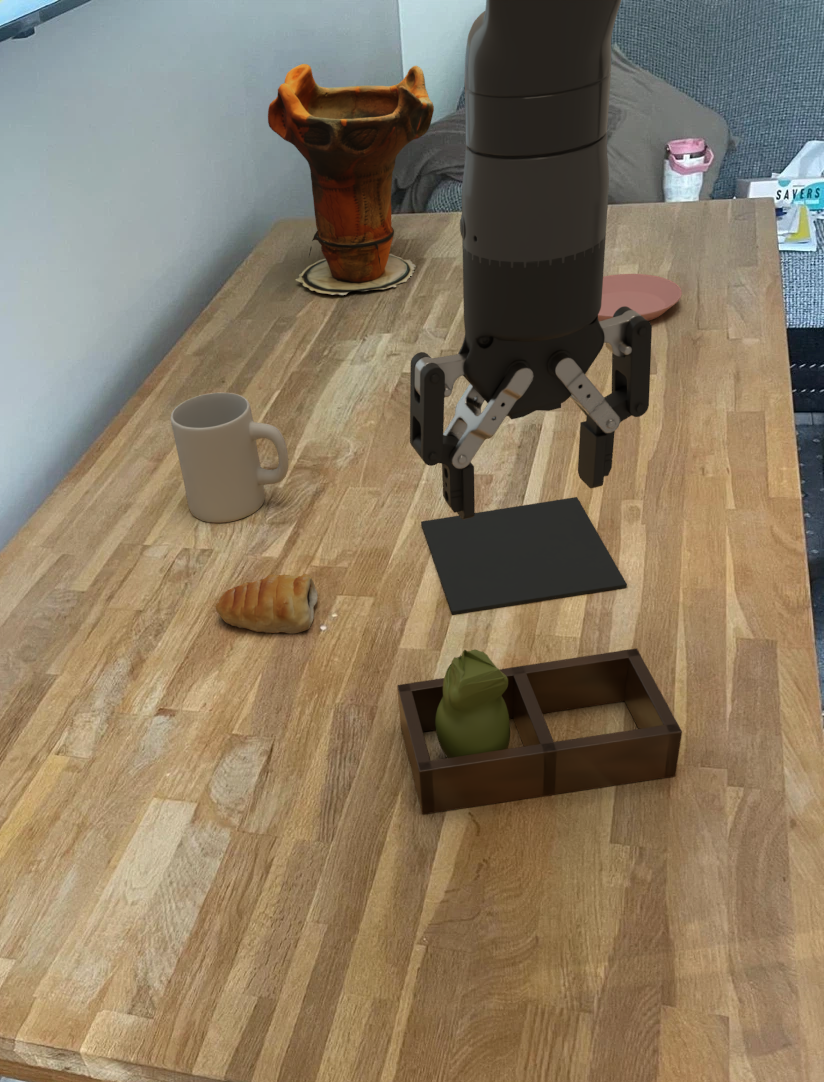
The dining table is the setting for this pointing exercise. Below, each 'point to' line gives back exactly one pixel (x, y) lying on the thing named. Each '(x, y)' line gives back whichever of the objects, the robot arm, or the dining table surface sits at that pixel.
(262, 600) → the pastry
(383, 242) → the decorative vase
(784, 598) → the dining table surface
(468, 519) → the mat
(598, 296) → the robot arm
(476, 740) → the green rounded tall piece
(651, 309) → the plate
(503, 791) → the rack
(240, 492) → the mug
